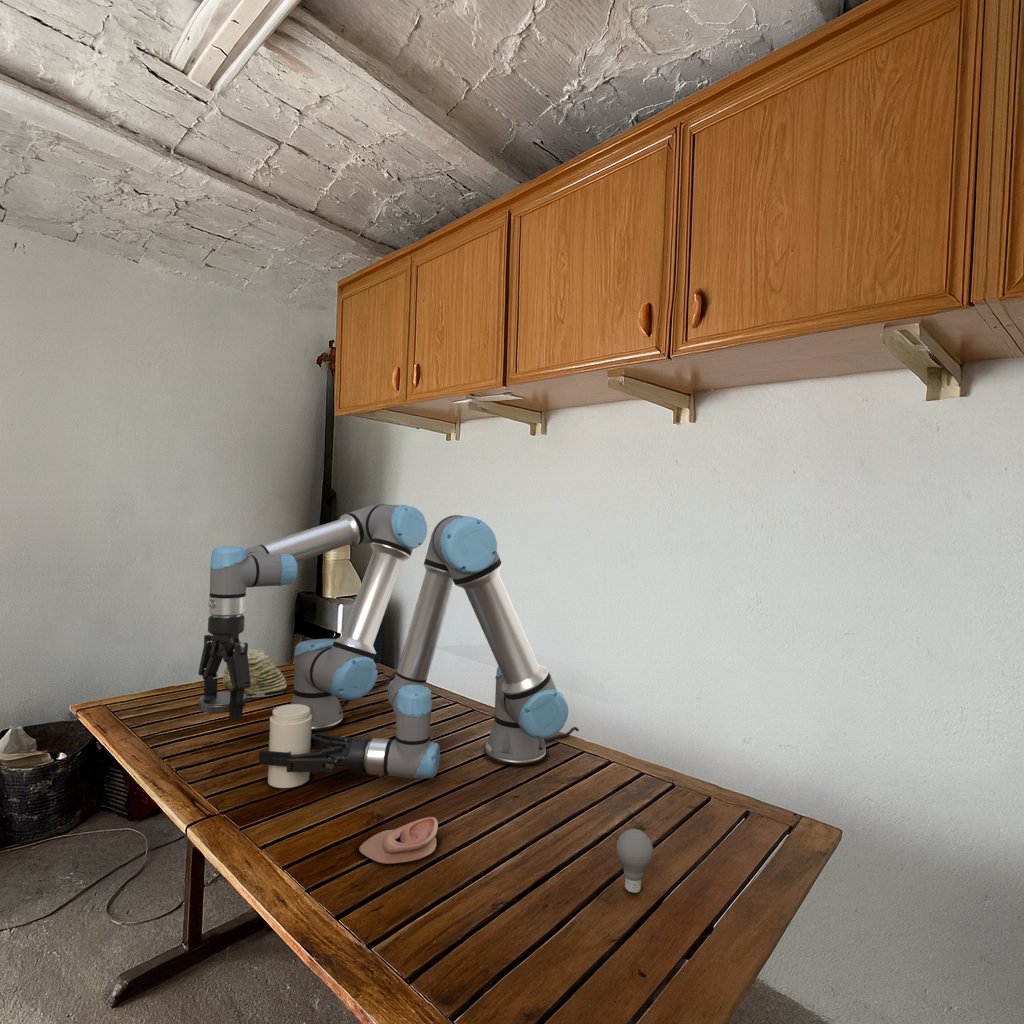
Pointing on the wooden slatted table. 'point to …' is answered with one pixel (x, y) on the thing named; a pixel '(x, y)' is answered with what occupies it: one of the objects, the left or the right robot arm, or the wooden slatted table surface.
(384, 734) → the wooden slatted table surface
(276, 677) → the fossil
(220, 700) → the lid
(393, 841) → the anatomical model
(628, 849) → the light bulb
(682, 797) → the wooden slatted table surface
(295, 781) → the jar
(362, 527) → the left robot arm
